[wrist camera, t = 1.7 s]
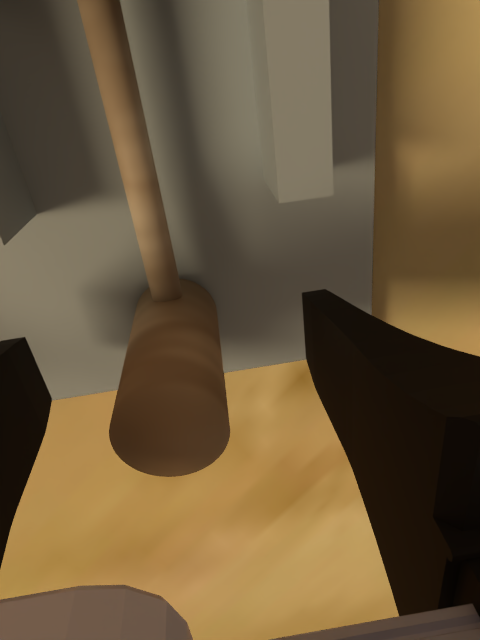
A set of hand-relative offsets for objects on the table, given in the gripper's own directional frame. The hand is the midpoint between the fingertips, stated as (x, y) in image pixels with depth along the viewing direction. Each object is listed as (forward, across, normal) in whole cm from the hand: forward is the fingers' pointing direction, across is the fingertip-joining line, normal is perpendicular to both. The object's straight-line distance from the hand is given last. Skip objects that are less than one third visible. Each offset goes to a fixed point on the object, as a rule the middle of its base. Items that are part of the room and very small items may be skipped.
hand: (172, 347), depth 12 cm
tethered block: (+2, 0, -6) cm, 6 cm away
